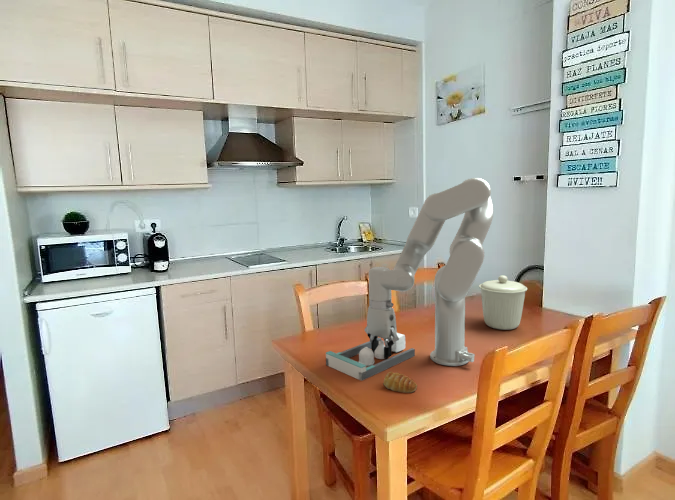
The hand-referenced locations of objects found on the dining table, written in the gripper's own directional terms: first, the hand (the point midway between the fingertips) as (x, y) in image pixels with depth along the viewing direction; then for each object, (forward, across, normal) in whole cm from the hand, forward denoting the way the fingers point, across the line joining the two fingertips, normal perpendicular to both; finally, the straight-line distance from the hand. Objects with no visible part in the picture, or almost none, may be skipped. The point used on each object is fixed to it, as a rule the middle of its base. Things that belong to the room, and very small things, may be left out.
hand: (381, 354), depth 141 cm
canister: (+1, -15, -57) cm, 59 cm away
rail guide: (+1, 0, +5) cm, 5 cm away
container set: (+1, 0, 0) cm, 1 cm away
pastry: (+1, -18, +13) cm, 22 cm away
